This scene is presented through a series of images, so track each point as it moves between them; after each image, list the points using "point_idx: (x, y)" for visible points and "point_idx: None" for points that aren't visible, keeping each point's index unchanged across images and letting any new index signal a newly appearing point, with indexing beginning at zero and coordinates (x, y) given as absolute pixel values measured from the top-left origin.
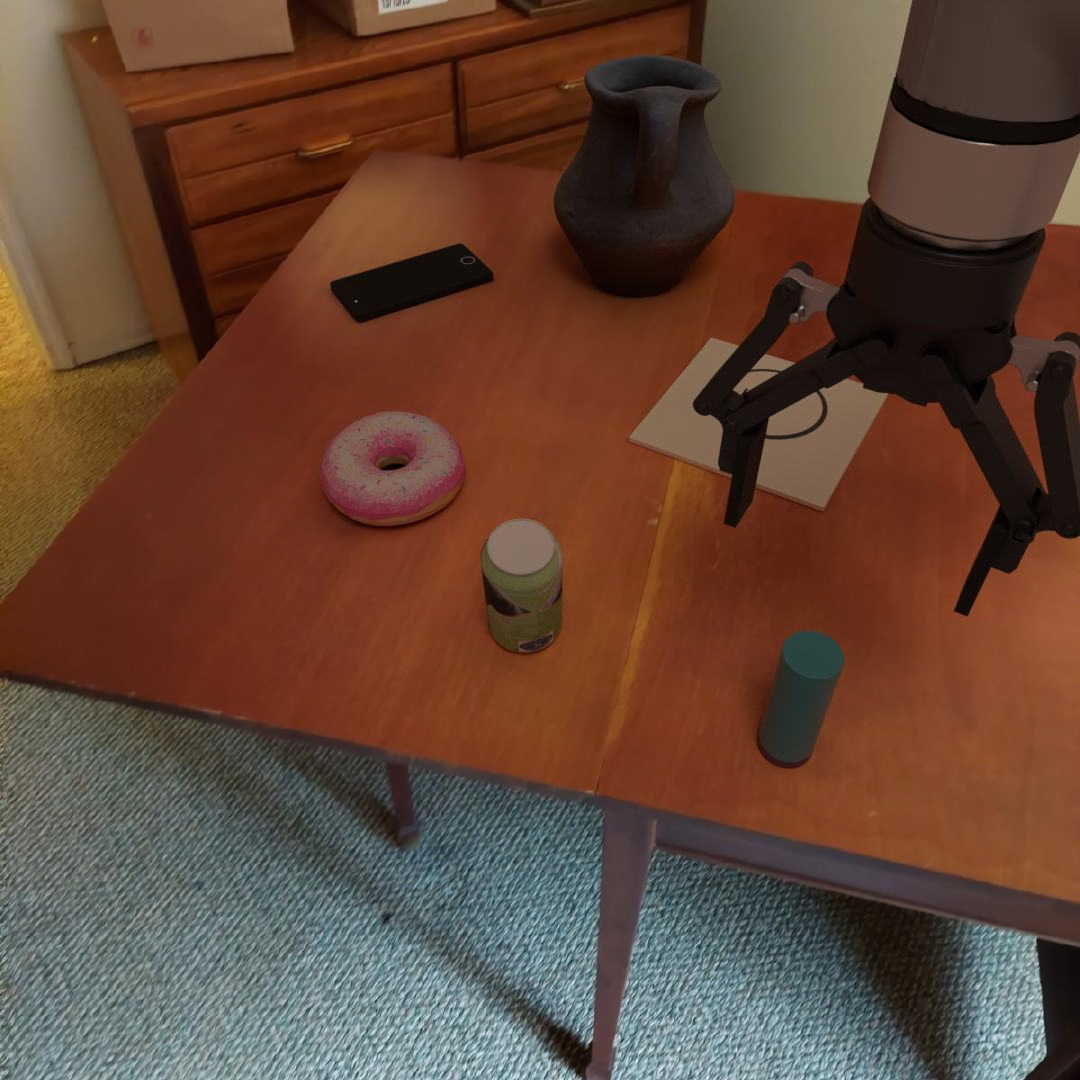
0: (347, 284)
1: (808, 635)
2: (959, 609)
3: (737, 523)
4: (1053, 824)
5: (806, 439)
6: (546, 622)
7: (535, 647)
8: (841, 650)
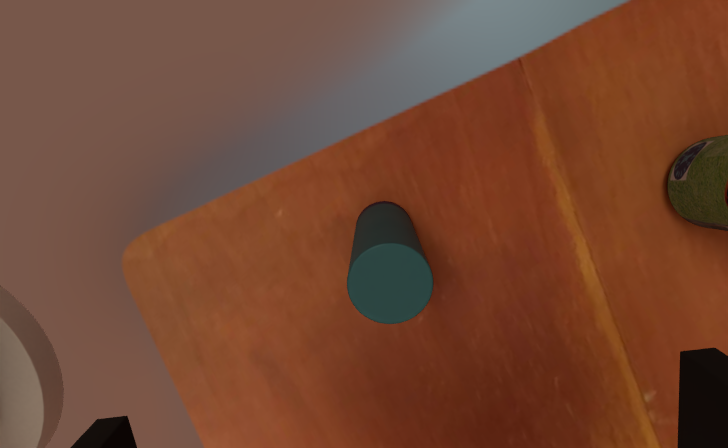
0: None
1: (410, 308)
2: (109, 425)
3: (684, 366)
4: (151, 303)
5: None
6: (709, 169)
7: (684, 156)
8: (361, 312)
